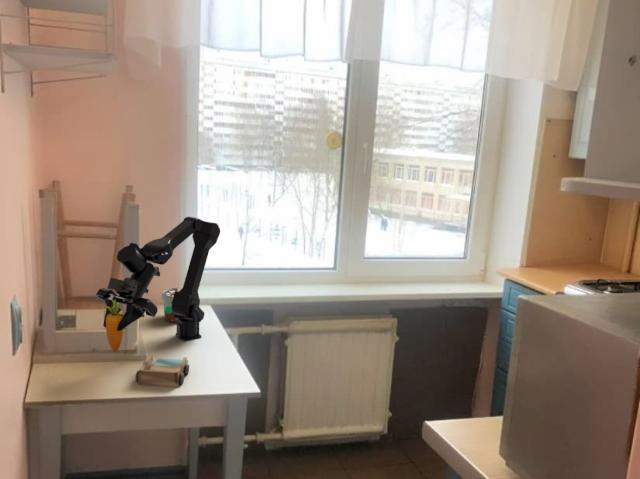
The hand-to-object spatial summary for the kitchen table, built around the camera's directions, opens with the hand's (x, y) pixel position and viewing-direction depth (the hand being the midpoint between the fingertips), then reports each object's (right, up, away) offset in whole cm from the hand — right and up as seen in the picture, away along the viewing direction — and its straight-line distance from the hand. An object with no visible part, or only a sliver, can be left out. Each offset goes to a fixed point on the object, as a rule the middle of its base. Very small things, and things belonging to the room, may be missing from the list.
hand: (111, 328), depth 165 cm
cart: (+14, -13, +5) cm, 20 cm away
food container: (+4, -4, +47) cm, 48 cm away
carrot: (0, -7, +3) cm, 8 cm away
